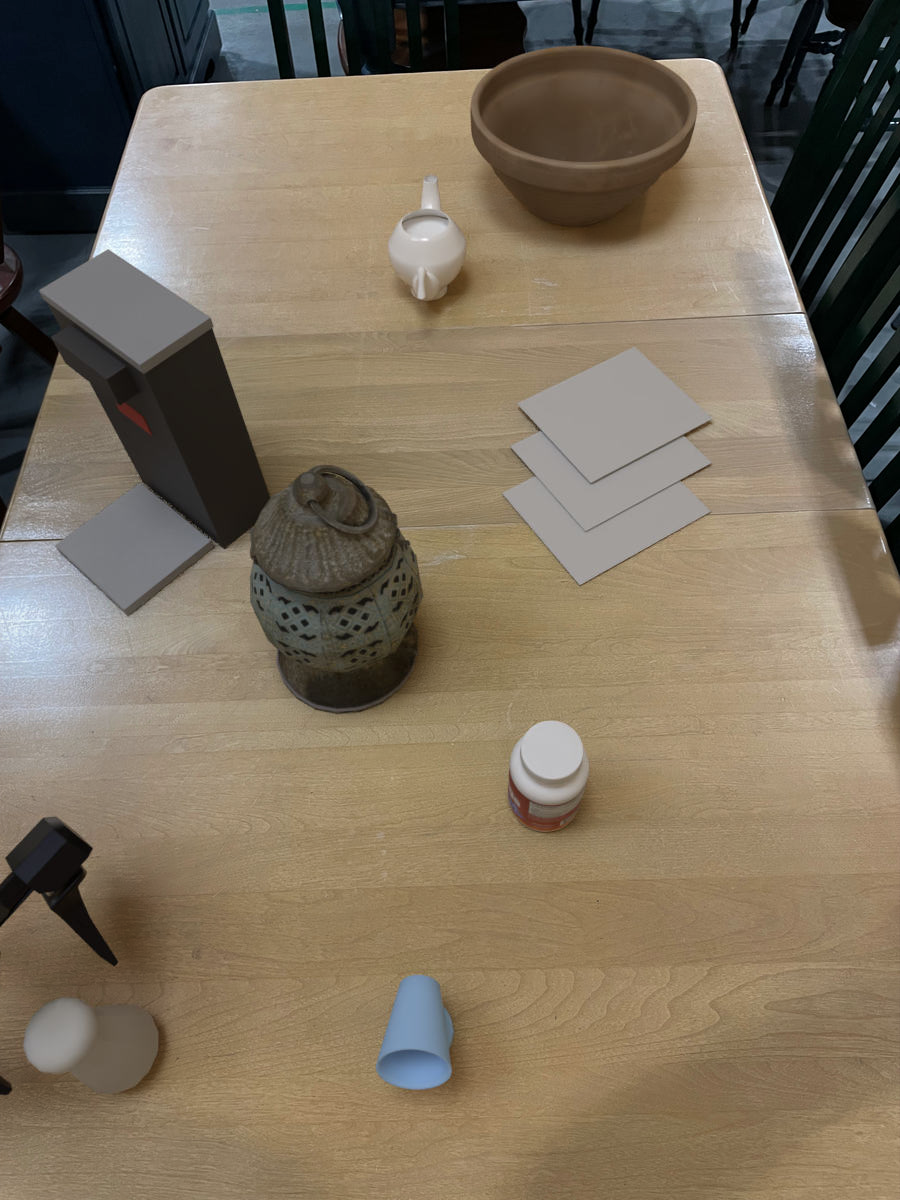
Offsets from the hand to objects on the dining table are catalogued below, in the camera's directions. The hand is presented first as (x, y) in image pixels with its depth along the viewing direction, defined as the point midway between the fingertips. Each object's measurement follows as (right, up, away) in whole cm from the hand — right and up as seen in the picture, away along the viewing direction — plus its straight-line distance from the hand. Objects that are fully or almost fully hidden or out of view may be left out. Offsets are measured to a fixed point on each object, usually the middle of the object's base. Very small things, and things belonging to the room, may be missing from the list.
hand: (64, 1024), depth 56 cm
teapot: (+23, +68, +52) cm, 89 cm away
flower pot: (+43, +84, +62) cm, 113 cm away
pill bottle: (+34, +11, +16) cm, 39 cm away
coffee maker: (-4, +36, +33) cm, 49 cm away
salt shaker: (+2, -6, +7) cm, 9 cm away
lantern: (+16, +23, +25) cm, 38 cm away
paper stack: (+43, +44, +36) cm, 71 cm away
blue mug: (+24, -5, +7) cm, 25 cm away
